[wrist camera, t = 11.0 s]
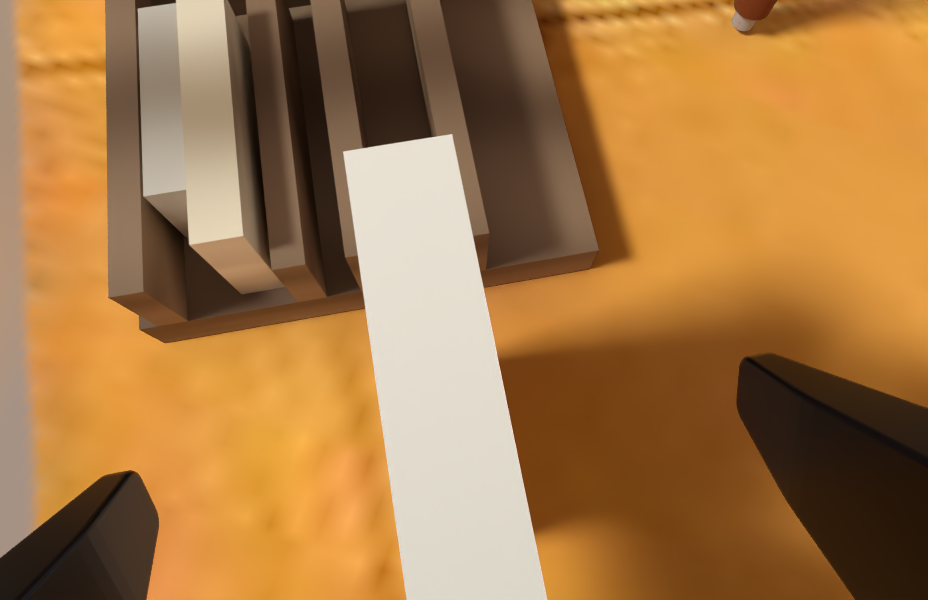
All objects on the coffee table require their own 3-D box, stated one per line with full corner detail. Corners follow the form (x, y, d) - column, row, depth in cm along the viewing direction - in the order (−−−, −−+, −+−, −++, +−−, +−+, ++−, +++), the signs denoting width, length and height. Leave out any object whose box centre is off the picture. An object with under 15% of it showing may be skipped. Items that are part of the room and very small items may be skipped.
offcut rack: (589, 269, 19) (648, 157, 13) (164, 342, 19) (13, 262, 12) (514, -15, 23) (534, -211, 16) (152, 38, 22) (29, -145, 16)
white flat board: (493, 546, 17) (555, 634, 5) (448, 555, 17) (415, 663, 5) (459, 364, 18) (452, 133, 7) (419, 372, 18) (343, 151, 7)
